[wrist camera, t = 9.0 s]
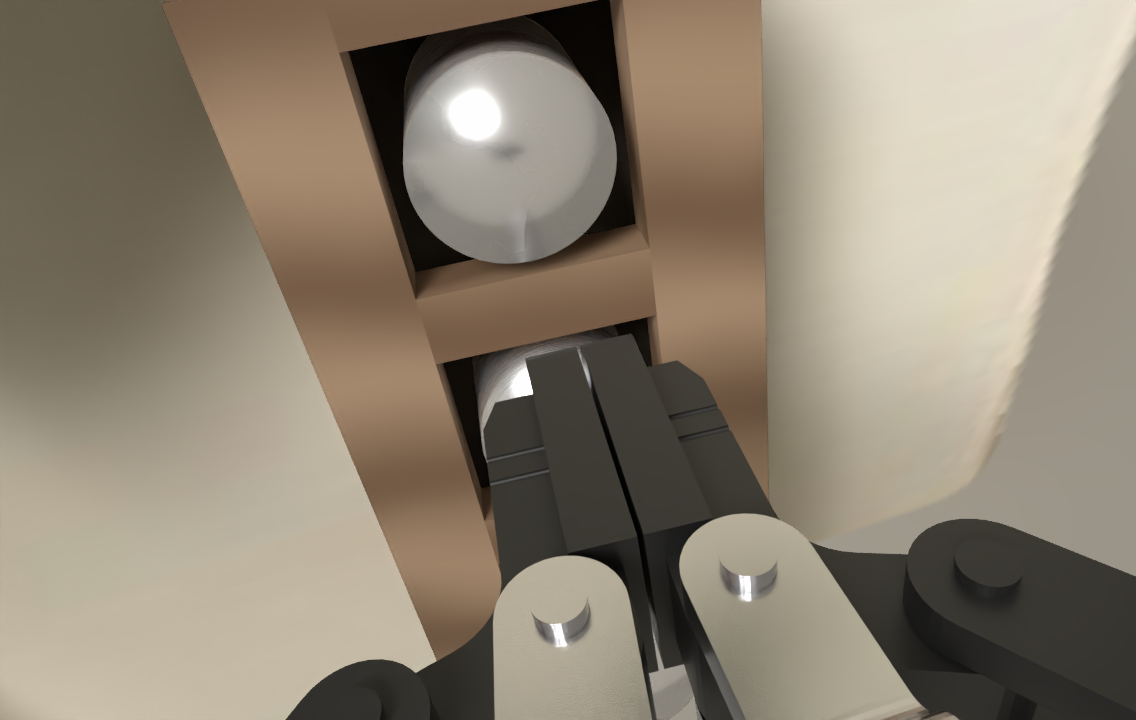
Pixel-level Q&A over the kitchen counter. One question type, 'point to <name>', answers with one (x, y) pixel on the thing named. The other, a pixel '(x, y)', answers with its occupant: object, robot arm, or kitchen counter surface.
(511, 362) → the spice jar
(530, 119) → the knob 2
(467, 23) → the wooden spice jar rack
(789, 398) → the kitchen counter surface
